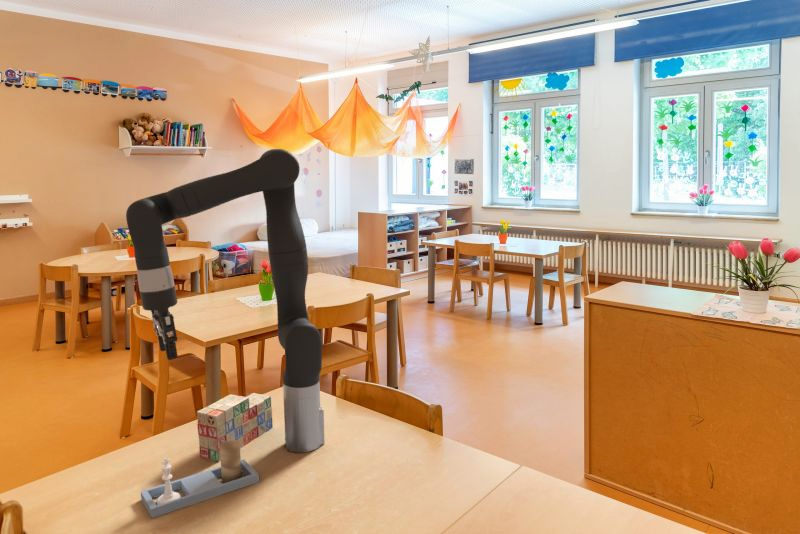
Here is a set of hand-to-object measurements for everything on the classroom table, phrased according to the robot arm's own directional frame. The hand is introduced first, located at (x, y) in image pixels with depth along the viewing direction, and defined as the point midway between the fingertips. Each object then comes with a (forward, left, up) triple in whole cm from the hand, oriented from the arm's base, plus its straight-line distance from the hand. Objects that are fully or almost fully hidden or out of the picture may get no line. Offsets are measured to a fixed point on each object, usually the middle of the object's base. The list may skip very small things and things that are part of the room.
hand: (168, 354), depth 140 cm
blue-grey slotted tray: (-1, +14, -28) cm, 32 cm away
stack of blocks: (-17, -4, -29) cm, 33 cm away
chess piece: (+6, +14, -28) cm, 32 cm away
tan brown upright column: (-8, +14, -28) cm, 33 cm away
